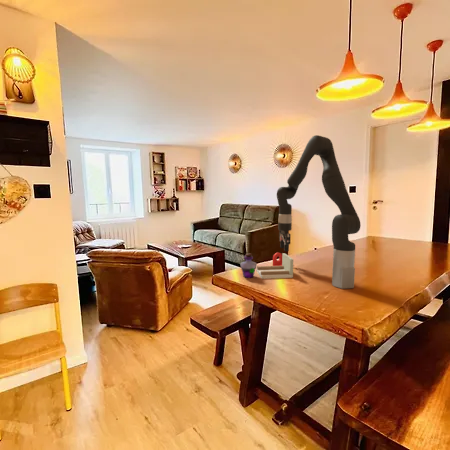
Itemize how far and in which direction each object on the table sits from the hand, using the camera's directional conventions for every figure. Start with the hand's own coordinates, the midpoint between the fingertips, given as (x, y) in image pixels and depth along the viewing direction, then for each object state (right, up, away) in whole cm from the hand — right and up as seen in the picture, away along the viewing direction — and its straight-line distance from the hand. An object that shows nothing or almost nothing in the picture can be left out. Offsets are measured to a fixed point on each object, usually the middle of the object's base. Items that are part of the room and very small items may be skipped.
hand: (284, 249), depth 166 cm
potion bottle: (-22, -13, -18) cm, 31 cm away
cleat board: (-9, -12, -15) cm, 21 cm away
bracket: (0, -10, +2) cm, 10 cm away
